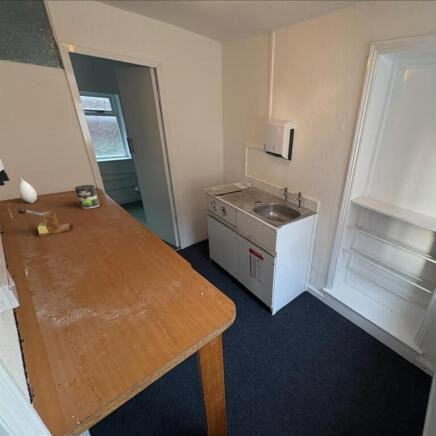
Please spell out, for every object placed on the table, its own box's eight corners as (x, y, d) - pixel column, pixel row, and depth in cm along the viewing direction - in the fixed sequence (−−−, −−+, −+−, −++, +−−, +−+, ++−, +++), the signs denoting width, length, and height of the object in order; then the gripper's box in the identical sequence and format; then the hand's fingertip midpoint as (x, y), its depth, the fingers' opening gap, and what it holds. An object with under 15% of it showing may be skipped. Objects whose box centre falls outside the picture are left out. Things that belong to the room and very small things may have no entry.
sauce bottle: (24, 201, 165) (13, 177, 158) (39, 199, 170) (30, 175, 163) (23, 204, 160) (12, 179, 153) (39, 202, 165) (29, 177, 158)
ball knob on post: (15, 213, 116) (17, 207, 115) (16, 211, 118) (18, 206, 118) (51, 219, 125) (53, 214, 125) (52, 217, 127) (54, 212, 127)
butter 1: (40, 230, 125) (38, 225, 124) (41, 228, 127) (39, 223, 126) (48, 229, 127) (46, 224, 126) (49, 227, 129) (47, 222, 128)
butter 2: (39, 233, 122) (37, 228, 121) (40, 231, 124) (38, 226, 123) (47, 232, 123) (45, 227, 122) (48, 229, 126) (46, 225, 125)
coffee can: (97, 207, 161) (91, 188, 155) (78, 209, 157) (71, 189, 151) (101, 203, 169) (96, 184, 164) (84, 204, 165) (77, 185, 160)
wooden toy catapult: (39, 236, 122) (30, 217, 117) (41, 230, 128) (33, 212, 124) (69, 230, 129) (63, 212, 125) (70, 225, 135) (63, 207, 131)
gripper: (-23, 144, 107) (-5, 180, 114) (-37, 148, 95) (-16, 188, 102) (1, 143, 112) (17, 178, 118) (-9, 147, 99) (10, 186, 106)
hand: (2, 183), depth 110 cm, fingers open, 9 cm apart
